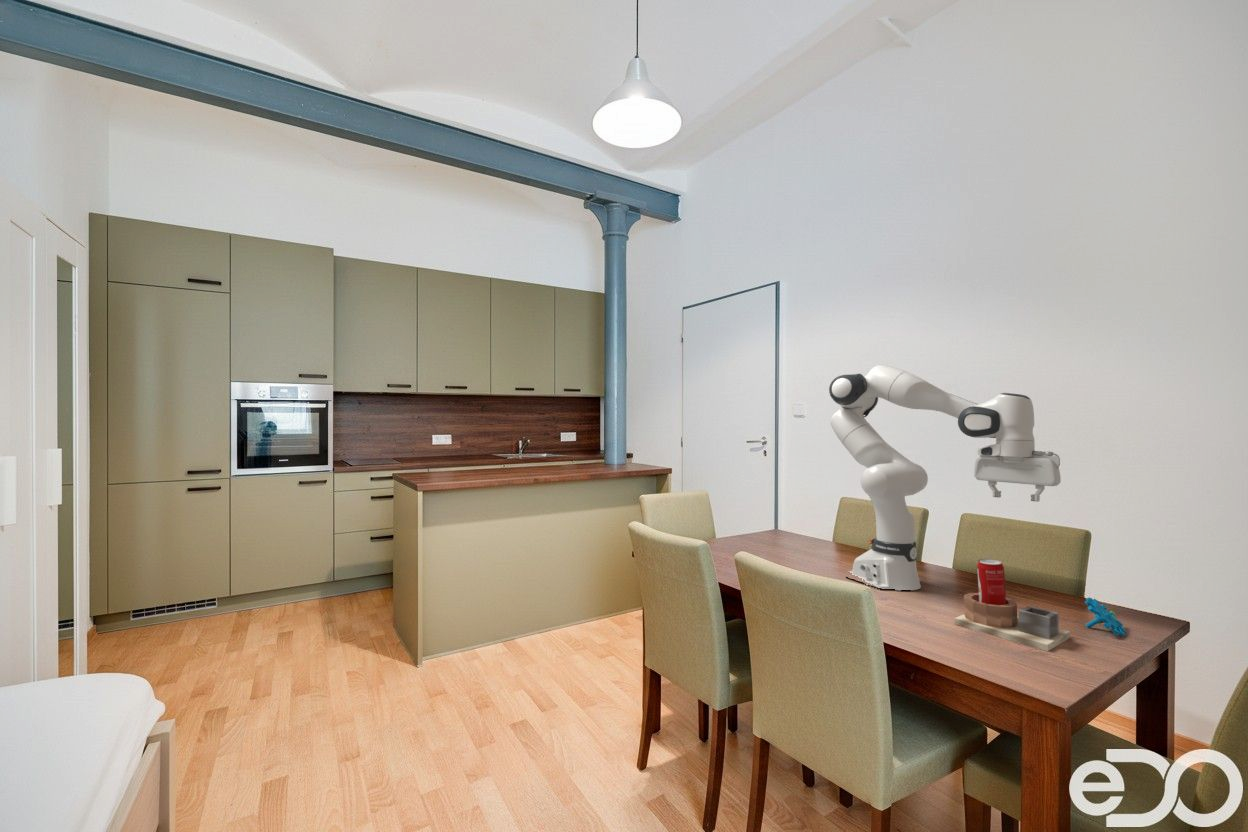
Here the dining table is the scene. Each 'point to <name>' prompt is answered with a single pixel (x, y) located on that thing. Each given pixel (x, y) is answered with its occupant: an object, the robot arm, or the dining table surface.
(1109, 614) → the blue bumpy branched piece
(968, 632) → the dining table surface
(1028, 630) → the cream base plate
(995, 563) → the beverage can
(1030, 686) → the dining table surface
